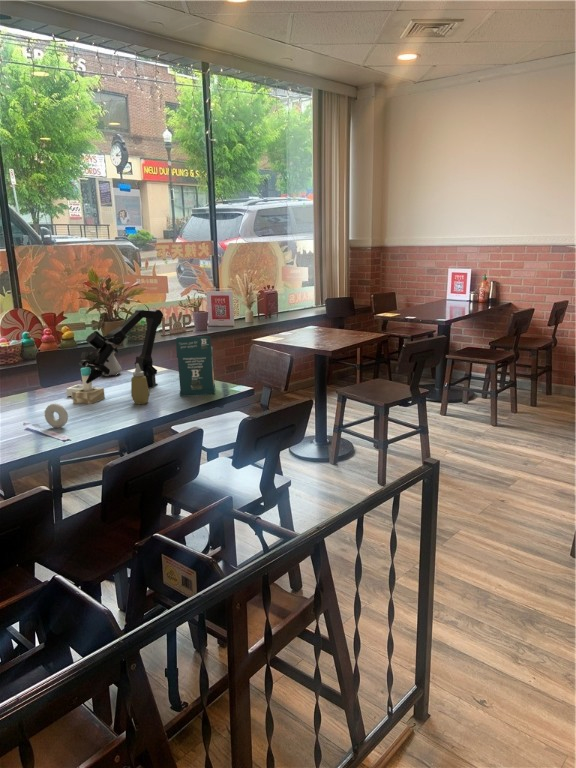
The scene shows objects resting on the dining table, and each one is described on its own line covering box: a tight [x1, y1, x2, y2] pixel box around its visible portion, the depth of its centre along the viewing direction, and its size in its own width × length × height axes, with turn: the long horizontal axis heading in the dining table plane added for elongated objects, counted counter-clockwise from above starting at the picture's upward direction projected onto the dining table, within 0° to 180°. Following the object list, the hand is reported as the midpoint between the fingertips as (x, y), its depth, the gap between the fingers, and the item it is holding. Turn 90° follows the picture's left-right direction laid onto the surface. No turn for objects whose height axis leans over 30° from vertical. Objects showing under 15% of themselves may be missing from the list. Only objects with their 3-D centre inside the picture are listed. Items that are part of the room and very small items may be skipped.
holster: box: [65, 384, 83, 398], centre depth 272 cm, size 8×8×4 cm
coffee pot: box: [102, 352, 122, 377], centre depth 308 cm, size 21×12×15 cm, turn 170°
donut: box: [44, 402, 69, 429], centre depth 222 cm, size 10×4×10 cm, turn 74°
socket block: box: [72, 386, 106, 405], centre depth 261 cm, size 10×10×5 cm
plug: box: [80, 367, 93, 392], centre depth 260 cm, size 4×4×13 cm
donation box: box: [175, 335, 216, 397], centre depth 269 cm, size 16×16×28 cm
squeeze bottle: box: [130, 364, 150, 405], centre depth 253 cm, size 8×8×18 cm
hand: (84, 382), depth 259 cm, fingers closed on plug, 4 cm apart
